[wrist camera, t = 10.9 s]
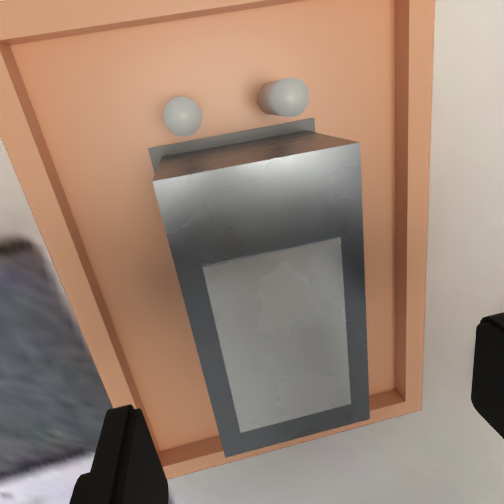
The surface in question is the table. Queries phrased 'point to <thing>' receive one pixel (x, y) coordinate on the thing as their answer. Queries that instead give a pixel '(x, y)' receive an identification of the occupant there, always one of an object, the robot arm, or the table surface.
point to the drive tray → (202, 137)
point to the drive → (272, 282)
